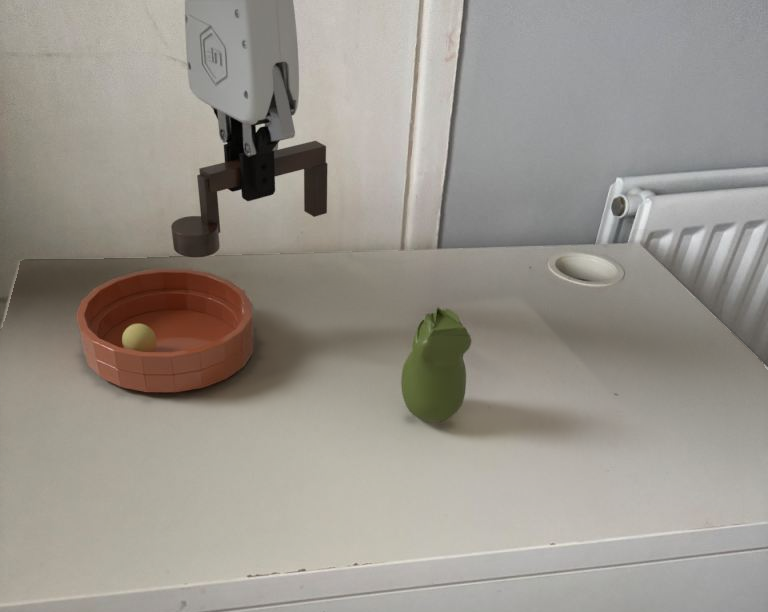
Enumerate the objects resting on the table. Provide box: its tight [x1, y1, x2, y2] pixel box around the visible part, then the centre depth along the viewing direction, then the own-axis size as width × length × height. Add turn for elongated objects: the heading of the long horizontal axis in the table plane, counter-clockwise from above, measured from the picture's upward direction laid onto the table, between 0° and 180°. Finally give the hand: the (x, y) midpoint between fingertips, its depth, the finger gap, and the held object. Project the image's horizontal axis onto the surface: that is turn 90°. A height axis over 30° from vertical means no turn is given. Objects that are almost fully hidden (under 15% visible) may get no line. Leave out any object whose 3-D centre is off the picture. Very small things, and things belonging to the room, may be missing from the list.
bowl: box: [75, 268, 255, 393], centre depth 77 cm, size 15×15×4 cm
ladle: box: [170, 140, 329, 258], centre depth 75 cm, size 16×4×6 cm, turn 131°
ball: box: [122, 324, 157, 352], centre depth 75 cm, size 3×3×3 cm
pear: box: [400, 306, 472, 423], centre depth 70 cm, size 6×5×10 cm
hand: (251, 190), depth 74 cm, fingers closed on ladle
